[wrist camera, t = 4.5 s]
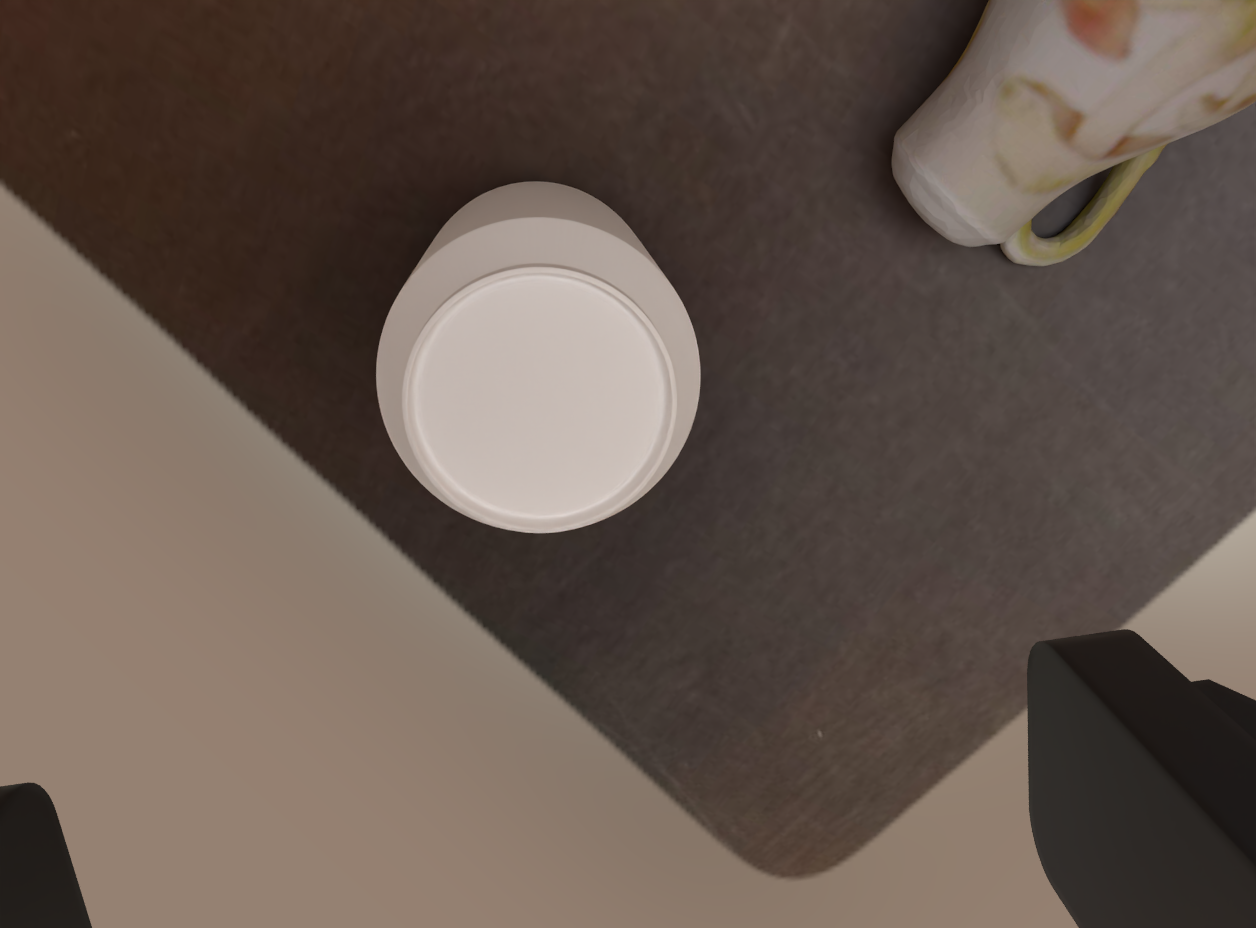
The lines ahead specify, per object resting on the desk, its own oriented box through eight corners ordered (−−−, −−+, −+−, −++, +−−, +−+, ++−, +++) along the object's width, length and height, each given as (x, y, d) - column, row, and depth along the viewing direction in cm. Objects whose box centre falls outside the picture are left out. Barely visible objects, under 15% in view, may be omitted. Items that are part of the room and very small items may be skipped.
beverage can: (694, 259, 32) (782, 351, 21) (572, 443, 34) (593, 624, 22) (499, 130, 31) (481, 155, 20) (380, 328, 32) (298, 458, 21)
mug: (788, 158, 32) (977, -77, 23) (996, -40, 35) (1240, -321, 25) (982, 354, 32) (1250, 204, 23) (1172, 141, 35) (1480, -71, 26)
